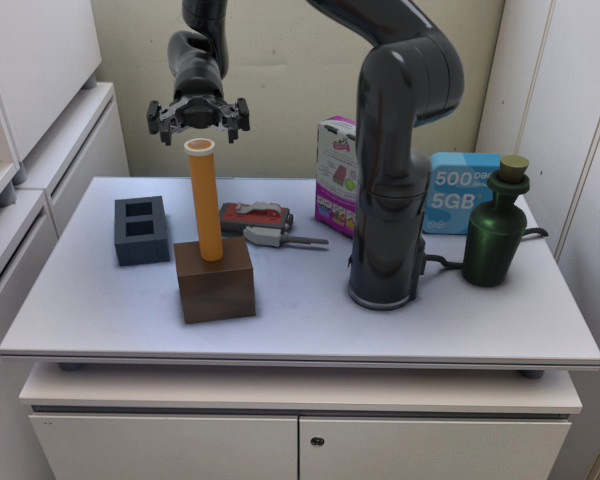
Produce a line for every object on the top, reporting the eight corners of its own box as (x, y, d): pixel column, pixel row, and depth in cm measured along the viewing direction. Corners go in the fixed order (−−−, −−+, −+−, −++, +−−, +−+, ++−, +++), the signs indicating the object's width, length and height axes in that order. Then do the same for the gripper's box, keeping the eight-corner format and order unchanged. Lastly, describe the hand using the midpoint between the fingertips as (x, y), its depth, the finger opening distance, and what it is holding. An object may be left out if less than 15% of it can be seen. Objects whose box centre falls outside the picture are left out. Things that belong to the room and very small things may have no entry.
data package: (420, 233, 99) (432, 164, 90) (417, 219, 102) (429, 151, 93) (491, 235, 99) (511, 165, 90) (486, 221, 102) (505, 153, 93)
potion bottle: (493, 256, 94) (526, 144, 81) (519, 286, 89) (558, 171, 76) (447, 264, 93) (472, 151, 80) (470, 294, 88) (501, 178, 74)
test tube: (223, 246, 81) (213, 136, 70) (227, 261, 79) (216, 149, 68) (197, 249, 81) (182, 139, 70) (200, 264, 78) (185, 152, 67)
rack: (165, 217, 102) (161, 195, 99) (170, 261, 93) (166, 238, 90) (119, 221, 101) (114, 199, 98) (119, 266, 92) (114, 244, 89)
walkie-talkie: (206, 242, 97) (327, 253, 95) (203, 217, 93) (328, 229, 91) (219, 215, 103) (333, 225, 101) (217, 191, 99) (335, 201, 97)
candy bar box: (380, 233, 99) (393, 134, 87) (360, 244, 97) (370, 144, 85) (333, 208, 104) (338, 112, 93) (313, 218, 102) (315, 121, 90)
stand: (247, 282, 89) (244, 235, 83) (255, 315, 84) (253, 267, 78) (181, 290, 88) (173, 243, 82) (185, 324, 82) (176, 276, 76)
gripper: (147, 67, 87) (140, 110, 76) (243, 64, 88) (250, 107, 77) (155, 119, 92) (150, 167, 81) (246, 116, 94) (253, 162, 83)
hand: (199, 137), depth 79 cm, fingers open, 8 cm apart
